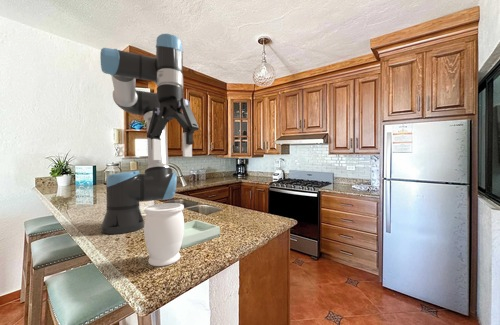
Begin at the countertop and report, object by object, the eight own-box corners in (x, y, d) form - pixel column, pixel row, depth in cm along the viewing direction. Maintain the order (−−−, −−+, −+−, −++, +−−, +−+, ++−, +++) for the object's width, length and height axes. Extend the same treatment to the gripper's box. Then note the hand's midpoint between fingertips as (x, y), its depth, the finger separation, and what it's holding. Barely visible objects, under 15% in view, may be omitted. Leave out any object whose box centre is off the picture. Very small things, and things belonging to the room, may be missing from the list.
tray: (160, 238, 78) (160, 228, 78) (196, 228, 89) (196, 219, 89) (182, 249, 68) (182, 237, 68) (219, 236, 80) (219, 226, 80)
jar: (171, 270, 55) (170, 211, 55) (135, 266, 57) (134, 209, 57) (190, 253, 65) (190, 203, 65) (159, 250, 67) (159, 202, 67)
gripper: (134, 94, 69) (134, 161, 67) (190, 71, 56) (191, 153, 54) (155, 100, 75) (156, 161, 74) (210, 81, 62) (212, 155, 61)
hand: (171, 158), depth 64 cm, fingers open, 13 cm apart
